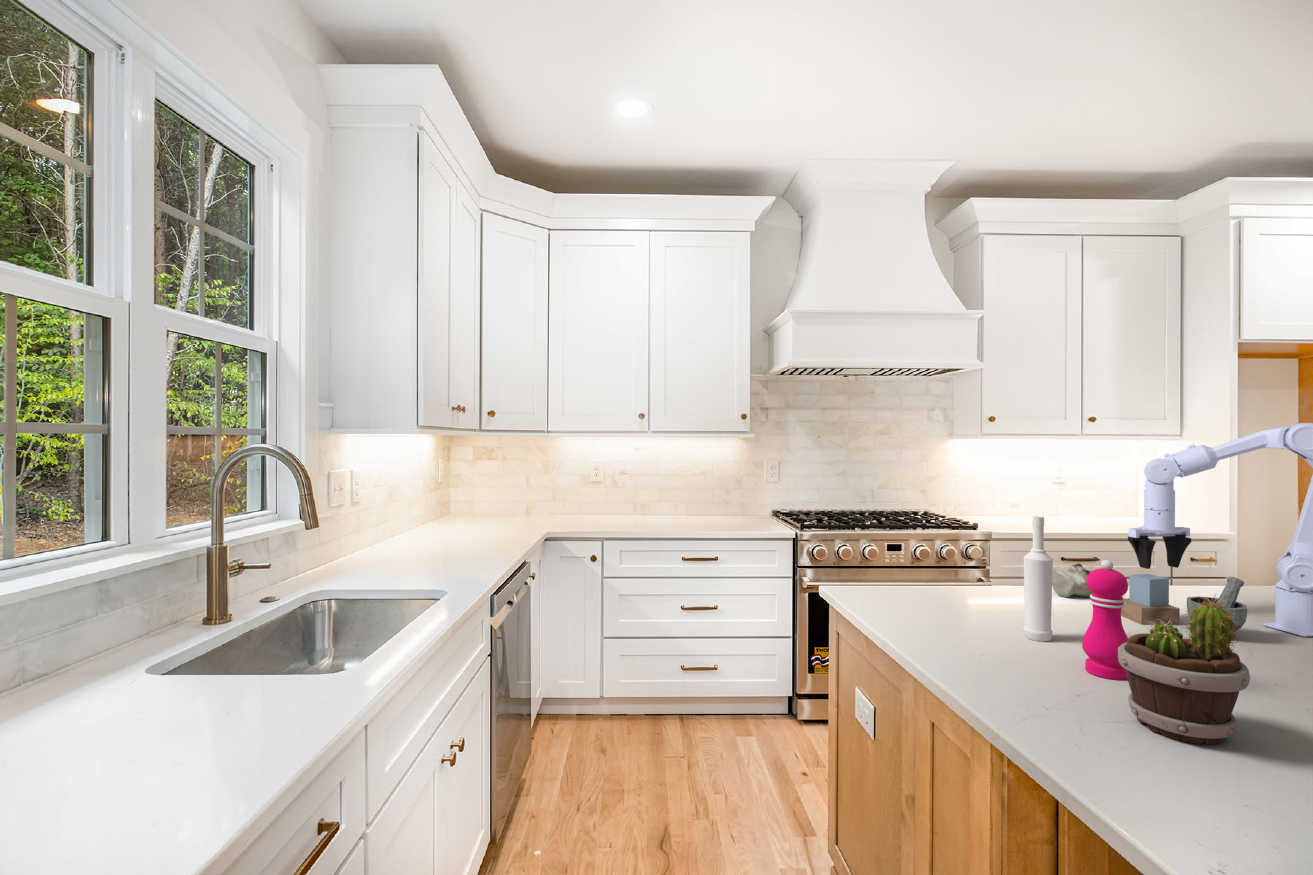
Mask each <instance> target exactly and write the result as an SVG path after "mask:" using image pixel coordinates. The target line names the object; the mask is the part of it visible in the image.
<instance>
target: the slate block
mask: <svg viewBox="0 0 1313 875" xmlns="http://www.w3.org/2000/svg"><path fill="white" fill-rule="evenodd" d="M1128 576H1129V577H1128V578H1129V581H1128V591H1129V592H1128V595H1129V596H1128V599H1129V601H1132V602H1135V603H1139V604H1142V605H1145V606H1149V607H1153V606H1169V605H1170V604H1169V603H1170V593H1169V592H1170V578H1167V577H1164V576H1159V575H1155V574H1151V573H1139V574H1138V573H1137V574H1129V575H1128Z"/></svg>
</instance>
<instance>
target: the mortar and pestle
mask: <svg viewBox="0 0 1313 875" xmlns="http://www.w3.org/2000/svg"><path fill="white" fill-rule="evenodd" d="M1244 584H1245V581H1243V580H1242V579H1240V578H1238V577H1234V576H1227V578H1226V584H1225V586H1224V588H1223V589H1222V591H1221V594H1220V595H1219V597H1214V598H1213V596H1212V597H1209V596H1199V595H1198V596H1188V597H1186V612H1188V613H1187V614H1188V615H1189V613H1190V612H1191V613H1192V610H1193V609H1194V607H1196V606H1198V607H1200V606H1201V605H1200V606H1199V605H1198V604H1199V603H1198V602H1199V601H1200V603H1201V604H1202V602H1203V601H1204V600H1205V599H1206V598H1207V599H1209V600H1210V601H1211V602H1212V599H1213V602H1214V600H1215V599H1218V600H1216V601H1215V603H1216V602H1218V603H1219V604H1220V603H1221V604H1220V606H1221V605H1222V607H1227V608H1224V609H1225V610H1224V609H1223V608H1222V610H1224V611H1225V612H1226V613H1228V614H1229V611H1230V613H1231V616H1233V615H1235V616H1233V617H1230V618H1231V619H1232V621H1233V622H1234V623H1236V622H1237V621H1238V622H1237V626H1238V627H1237V626H1236V625H1234V626H1235V627H1234V626H1233V627H1234V628H1233V630H1234V629H1235V630H1234V631H1233V632H1232V633H1233V636H1234V635H1235V636H1236V632H1235V631H1239V630H1241V628H1243V626H1244V625H1245V624H1246V621H1247V618H1248V605H1247V604H1244V603H1242V602H1238V601H1237V599H1238V596H1239V594H1240V590H1241V588H1242V587H1244ZM1200 597H1201V598H1200ZM1204 597H1205V598H1204ZM1203 598H1204V599H1203ZM1207 599H1206V600H1205V602H1206V601H1207ZM1210 601H1209V602H1210ZM1219 601H1221V602H1219ZM1209 602H1208V601H1207V603H1208V604H1209ZM1207 603H1205V605H1206V604H1207ZM1218 603H1216V604H1218ZM1222 603H1223V604H1222ZM1203 604H1204V603H1203ZM1194 605H1195V606H1194ZM1191 606H1193V608H1192V607H1191ZM1218 607H1219V605H1218ZM1196 608H1197V607H1196ZM1190 609H1192V610H1190ZM1226 610H1227V611H1226ZM1231 611H1232V612H1231ZM1234 612H1235V613H1234ZM1191 613H1190V615H1191ZM1233 613H1234V614H1233ZM1232 614H1233V615H1232ZM1235 618H1236V619H1235ZM1233 619H1234V620H1233ZM1240 624H1241V625H1240ZM1238 628H1239V629H1238ZM1236 629H1237V630H1236ZM1234 632H1235V633H1234ZM1234 638H1235V637H1234ZM1232 640H1233V641H1236V638H1235V639H1232Z"/></svg>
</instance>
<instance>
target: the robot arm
mask: <svg viewBox="0 0 1313 875" xmlns="http://www.w3.org/2000/svg"><path fill="white" fill-rule="evenodd" d="M1285 448H1286V449H1287V450H1289V451H1290V452H1292V453H1294V454H1296V455H1298V456H1300V457H1301V458H1302V459H1303V460H1304V461H1305V462H1306V463H1307V464H1308V465H1309V466H1310V467H1311V468H1312V469H1313V422H1299V423H1297V422H1296V423H1293V424H1290V425H1288V426H1280V427H1274V428H1269V429H1265V430H1264V429H1263V430H1261V431H1257V432H1254V433H1252V434H1248V435H1246V436H1242V437H1239V438H1236V439H1233V440H1230V441H1228V442H1225V443H1222V444H1219V445H1216V446H1213V447H1210V446H1207V445H1204V444H1199V445H1195V444H1194V443H1193V444H1190V445H1187V449H1183V450H1180V451H1177V452H1174V453H1170V454H1169V453H1164V454H1163V457H1164V458H1153V459H1151V460H1149V461H1148V462H1147V463H1146V464H1145V467H1144V469H1143V474H1144V476H1145V478H1146V479H1145V481H1144V487H1145V489H1144V490H1143V493H1144V495H1143V497H1144V498H1143V500H1144V502H1143V503H1144V504H1143V506H1144V507H1143V512H1144V513H1143V515H1144V516H1143V525H1142V526H1140V527H1131V528H1128V535H1127V540H1128V542H1129V544H1130V545H1131V547H1132V549H1133V551H1134V553H1135V555H1136V558H1137V561H1138V565H1139V567H1140V568H1142V569H1147V570H1148V569H1151V567H1152V556H1153V550H1154V547H1155V544H1156V543H1157V541H1156V540H1154V539H1150V538H1154V537H1155V538H1156V537H1160V538H1162V539H1163V543H1164V545H1165V549H1166V562H1167V566H1168V567H1170V568H1176V569H1177V568H1178V569H1179V566H1180V565H1181V560H1182V558H1183V556H1184V554H1185V551H1186V550H1187V548H1189V547H1188V546H1190V544H1191V543H1192V538H1191V528H1190V527H1184V526H1176V490H1174V488H1175V486H1174V484H1175V483H1174V480H1175V478H1176V477H1179V478H1184V477H1189V476H1192V475H1194V474H1199V473H1201V472H1205V471H1209V470H1211V469H1212V470H1214V469H1215V468H1216V466H1217V464H1218V462H1219V461H1220V460H1225V459H1228V458H1232V457H1236V456H1240V455H1242V454H1246V453H1249V452H1253V451H1256V450H1261V449H1278V450H1285ZM1286 549H1287V550H1286V552H1285V553H1284V555H1282V556H1281V557H1280V558H1279V559H1278V560H1277V562H1276V564H1275V570H1276V573H1277V574H1278V575H1279V577H1280V578H1281V579H1280V580H1279V581H1278V582H1275V584H1274V585H1275V588H1274V590H1275V595H1274V597H1275V598H1274V599H1275V602H1274V603H1275V604H1274V622H1264V623H1263V626H1264V627H1267V628H1268V627H1269V628H1272V629H1276V630H1280V631H1283V632H1287V633H1290V634H1293V635H1298V636H1299V637H1300V636H1301V637H1313V474H1312V476H1311V478H1310V482H1309V485H1308V488H1307V492H1306V495H1305V497H1304V501H1303V504H1302V507H1301V511H1300V515H1299V517H1298V521H1297V523H1296V528H1295V530H1294V534H1293V536H1292V538H1291V542H1290V543H1289V544H1288V546H1287V548H1286Z"/></svg>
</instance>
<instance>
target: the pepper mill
mask: <svg viewBox="0 0 1313 875" xmlns="http://www.w3.org/2000/svg"><path fill="white" fill-rule="evenodd" d="M1100 563H1101V564H1100V566H1101V567H1100V568H1095V569H1093V570H1092V571H1091V572H1090V573H1089V575H1088V576H1087V581H1086V583H1087V587H1088V588H1089V590H1090V591H1091V592H1092V594H1091V595H1090V597H1089V598H1090V600H1089V603H1090V604H1092V617H1091V620H1090V623H1089V626H1088V627H1087V629H1086V631H1084V632H1085V633H1084V635H1083V637H1082V643H1081V647H1082V650H1083V652H1084V653H1085V654H1086V656H1087V658H1086V659H1085V661H1084V662H1085V663H1084V666H1085V668H1084V669H1085V671H1086V672H1087V673H1088V672H1089V673H1088V674H1090V675H1092V676H1095V675H1096V676H1095V677H1098V678H1101V677H1103V679H1106V678H1107V680H1113V679H1114V680H1115V681H1121V680H1122V681H1123V680H1128V678H1127V674H1126V669H1125V668H1123V667H1122V666H1121V665H1120V663H1119V660H1118V648H1119V646H1121V645H1122V644H1123V643H1126V642H1127V641H1128V639H1129V637H1128V635H1127V634H1126V631H1125V628H1124V626H1123V622H1122V616H1121V609H1122V608H1123V607H1124V606H1125V605H1124V601H1125V600H1124V599H1123V596H1124V595H1125V594H1127V593H1128V591H1129V581H1128V580H1127V578H1126V576H1125V575H1124V574H1123V573H1121V572H1120V571H1118V570H1116V569H1113V568H1114V563H1113V562H1112V561H1111V560H1109V559H1104V560H1102V561H1101V562H1100Z"/></svg>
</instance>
